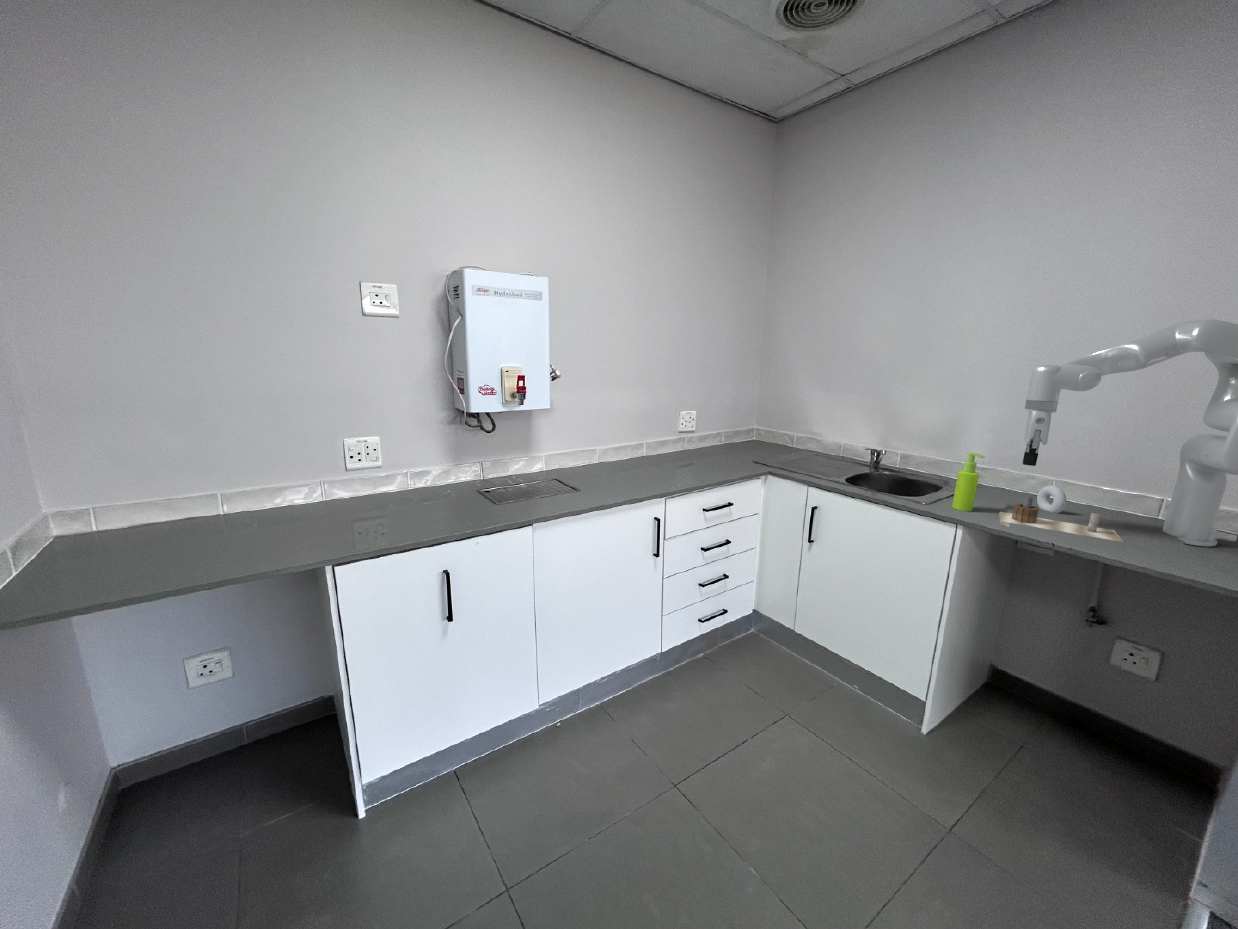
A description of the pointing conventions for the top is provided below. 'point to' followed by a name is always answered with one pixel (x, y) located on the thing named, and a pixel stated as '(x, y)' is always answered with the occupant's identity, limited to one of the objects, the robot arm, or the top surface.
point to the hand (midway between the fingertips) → (1029, 464)
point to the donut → (1058, 499)
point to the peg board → (1063, 524)
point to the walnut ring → (1025, 513)
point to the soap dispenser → (966, 485)
